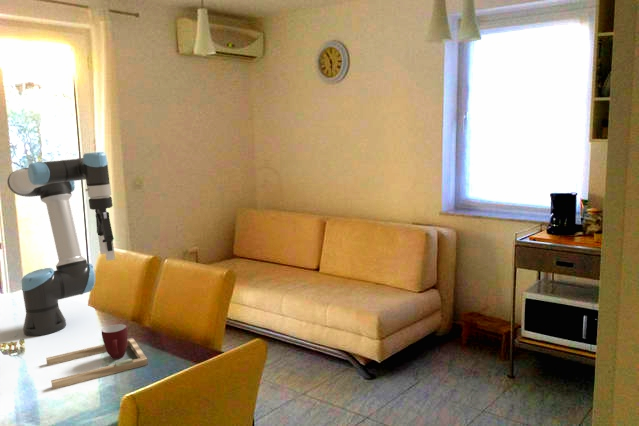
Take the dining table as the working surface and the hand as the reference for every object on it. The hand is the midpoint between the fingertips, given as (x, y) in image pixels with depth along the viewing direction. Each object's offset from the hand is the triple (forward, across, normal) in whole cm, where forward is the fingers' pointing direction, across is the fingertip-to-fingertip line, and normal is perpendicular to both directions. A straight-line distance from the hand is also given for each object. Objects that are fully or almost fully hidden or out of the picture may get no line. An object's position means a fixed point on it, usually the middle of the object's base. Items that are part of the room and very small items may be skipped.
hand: (107, 256), depth 199 cm
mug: (+32, +16, -3) cm, 36 cm away
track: (+31, +17, -10) cm, 37 cm away
